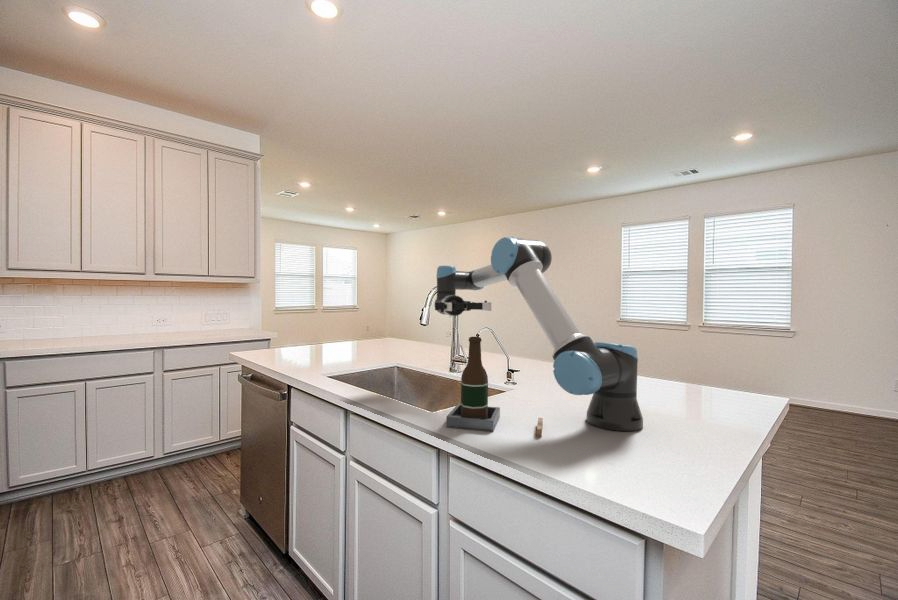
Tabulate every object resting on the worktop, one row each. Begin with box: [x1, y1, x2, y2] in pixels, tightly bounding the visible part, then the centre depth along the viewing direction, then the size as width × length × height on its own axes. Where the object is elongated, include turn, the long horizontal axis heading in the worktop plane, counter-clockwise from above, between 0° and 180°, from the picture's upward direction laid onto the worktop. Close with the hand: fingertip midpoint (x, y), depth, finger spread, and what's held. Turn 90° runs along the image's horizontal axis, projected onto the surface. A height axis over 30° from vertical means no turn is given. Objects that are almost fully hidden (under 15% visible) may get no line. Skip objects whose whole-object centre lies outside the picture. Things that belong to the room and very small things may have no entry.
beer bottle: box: [460, 336, 489, 419], centre depth 116 cm, size 8×8×24 cm
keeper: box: [445, 403, 501, 433], centre depth 116 cm, size 13×13×3 cm
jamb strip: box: [536, 417, 544, 438], centre depth 109 cm, size 10×1×2 cm, turn 165°
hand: (470, 306), depth 132 cm, fingers open, 13 cm apart
